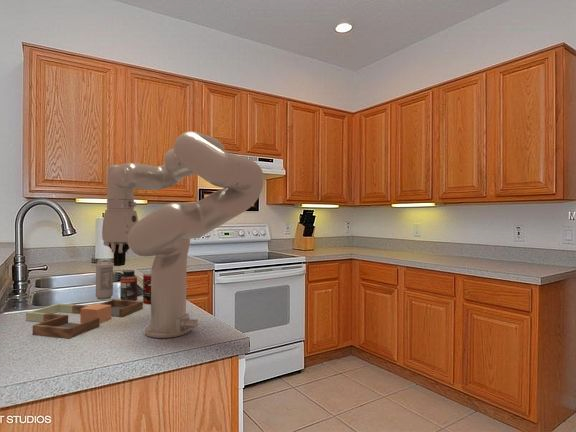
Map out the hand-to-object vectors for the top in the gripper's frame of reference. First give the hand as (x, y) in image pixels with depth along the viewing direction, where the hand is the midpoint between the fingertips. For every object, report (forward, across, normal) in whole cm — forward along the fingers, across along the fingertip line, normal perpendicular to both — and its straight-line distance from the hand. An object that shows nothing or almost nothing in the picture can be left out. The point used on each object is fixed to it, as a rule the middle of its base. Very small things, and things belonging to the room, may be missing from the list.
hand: (119, 265), depth 112 cm
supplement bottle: (+18, +15, -26) cm, 35 cm away
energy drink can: (+18, +26, -26) cm, 41 cm away
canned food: (+18, +4, -26) cm, 32 cm away
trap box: (+18, +14, 0) cm, 23 cm away
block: (+18, +8, 0) cm, 19 cm away
